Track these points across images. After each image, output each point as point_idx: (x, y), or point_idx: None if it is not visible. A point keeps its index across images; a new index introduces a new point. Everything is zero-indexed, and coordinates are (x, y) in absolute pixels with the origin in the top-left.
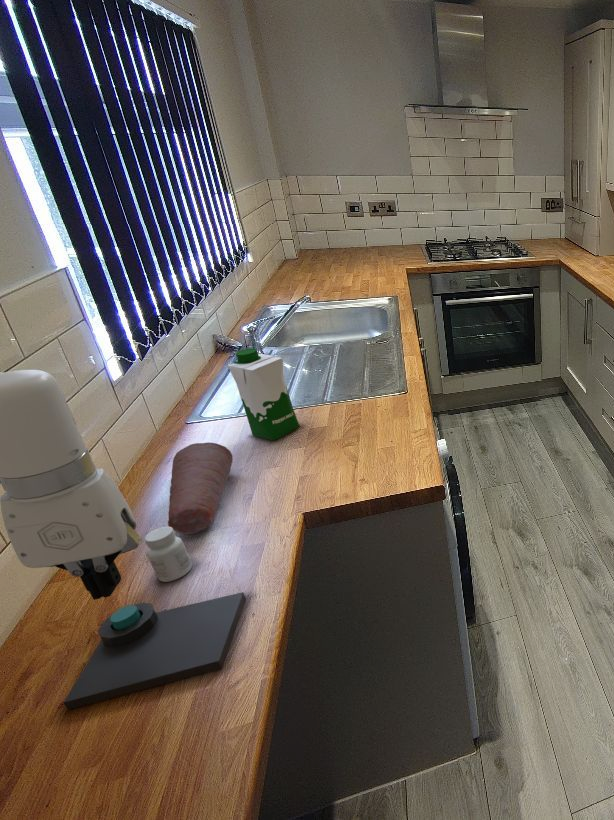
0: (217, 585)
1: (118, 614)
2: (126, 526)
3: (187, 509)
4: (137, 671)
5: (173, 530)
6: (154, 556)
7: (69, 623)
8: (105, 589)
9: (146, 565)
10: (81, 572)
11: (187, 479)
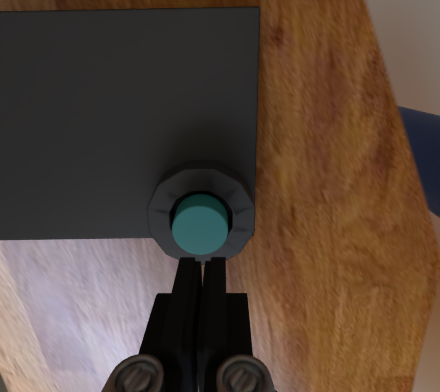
0: (91, 285)
1: (210, 231)
2: None
3: None
4: (119, 53)
5: None
6: (198, 388)
7: (349, 271)
8: (175, 278)
9: None
10: (230, 376)
11: None
